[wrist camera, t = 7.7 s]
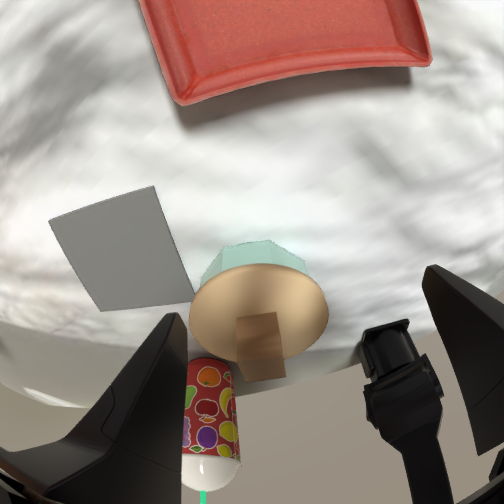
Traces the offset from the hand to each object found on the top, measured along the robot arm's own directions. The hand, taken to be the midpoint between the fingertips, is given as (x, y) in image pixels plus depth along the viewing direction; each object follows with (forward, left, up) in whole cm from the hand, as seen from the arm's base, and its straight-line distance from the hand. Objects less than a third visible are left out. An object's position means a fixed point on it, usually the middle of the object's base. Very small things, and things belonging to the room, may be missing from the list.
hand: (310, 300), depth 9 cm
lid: (+3, +10, -8) cm, 13 cm away
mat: (+15, +5, -13) cm, 20 cm away
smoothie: (+12, +24, -13) cm, 30 cm away
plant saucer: (-3, -16, -14) cm, 21 cm away
